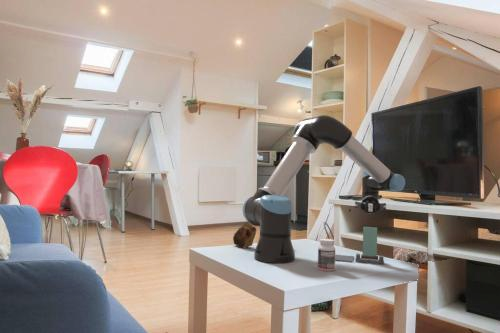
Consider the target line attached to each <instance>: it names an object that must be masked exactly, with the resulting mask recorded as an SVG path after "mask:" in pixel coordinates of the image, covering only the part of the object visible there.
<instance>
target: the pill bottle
mask: <svg viewBox="0 0 500 333" xmlns="http://www.w3.org/2000/svg"><path fill="white" fill-rule="evenodd" d="M319 244H320V245H319V246H318V249H317V252H318V253H317V268H318V269H319V270H321V271H324V272H325V271H326V272H332V271H335V269H336V261H335V255H336V247H335V246H334V244H335V240H334V239H332V238H320V239H319Z"/></svg>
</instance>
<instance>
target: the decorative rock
mask: <svg viewBox="0 0 500 333" xmlns="http://www.w3.org/2000/svg"><path fill="white" fill-rule="evenodd" d="M256 234H257V228H256V226H254V225H252V224H251V223H249V222H248V221H247V222H245V223H244V224H243V225H242V226H240V227H239V228H238V229H237V230H236V231H235V233H234V234H233V237H232V240H233V244H234V245H235V246H238V247H240V248H249V247H251V246H253V244H254V243H253V242H254V239H255V238H256Z"/></svg>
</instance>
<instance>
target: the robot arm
mask: <svg viewBox="0 0 500 333" xmlns="http://www.w3.org/2000/svg"><path fill="white" fill-rule="evenodd" d="M291 141H292V143H291V145H290V147H289V148H288V150H287V151H286V152H285V154H284V156H283V157H282V158H281V160H280V161H279V164H277V166H276V168H275V169H274V171H273V172H272V174H271V175H270V177H269V179H268V180H267V181H266V183H265V184H264V186H263V187H259V188H258V189H257V190H256V191H255V192H254V194H253V196H250V197H248V198H246V199H245V201H244V202H243V205H242V215H243V217H244V220H245V221H247V222H249V223H250V224H251V225H252V226H254V227H259V238H258V242H257V245H256V247H255V250H254V256H253V257H254V259H255V260H256V261H259V262H265V263H270V264H271V263H272V264H273V263H274V264H284V263H287V264H288V263H293V262H294V261H295V260H296V254H295V250H294V246H293V243H292V238H291V235H292V234H291V233H292V210H293V207H292V206H293V205H292V200H291V199H289V197H286V196H284V195H285V193H286V191H287V190H288V188H289V187H290V186H291V183H292V182H293V180H294V179H295V177H296V176H297V174H298V173H299V171H300V170H301V168H302V166H303V165H304V164H305V161H306V160H307V159H308V157H309V156H310V154H314V153H316V152H317V149H319V146H320V145H321V144H327V145H330V146H332V147H333V148H334V149H335V150H340V151H341V152H342V153H343V154H345V155H346V156H347V157H348V158H349V159H350V160H351V161H352V162H354V163H355V164H356V165H357V166H358V167H359V168H361V169H362V170H363V171H362V176H361V180H362V181H361V182H362V184H361V188H362V189H361V201H355V202H354V208H356V209H360V210H362V211H363V212H364V213H367V214H369V215H371V214H375V213H377V212H379V211H383V210H385V211H386V210H387V203H386V202H384V203H381V202H380V201H379V196H380V195H379V194H380V193H379V192H380V191H383V192H392V193H394V192H401V191H403V190H404V188H405V186H406V179H405V176H403V175H402V174H399V173H394V172H393V171H392V170H390V168H388V167H387V166H386V165H384V164H385V163H383V162H381V161H380V160H379V159H378V157H376V156H375V155H374V154H373V153H372V152H371V151H370V150H368V148H366V146H364V145H363V144H362V142H360V141H359V140H358V139H357V138H355V136H353V131H352V130H351V129H350V128H348V126H347V125H345V124H344V123H343V122H341V121H340V120H338V119H336V118H335V117H334V116H333V117H332V116H330V115H317V116H314V117H310V118H305V119H303V120H300V121H299V122H297V124H295V126H294V128H293V136H292V137H291Z"/></svg>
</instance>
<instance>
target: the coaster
mask: <svg viewBox="0 0 500 333" xmlns="http://www.w3.org/2000/svg"><path fill="white" fill-rule="evenodd" d="M353 261H354V256H353V255H345V254H335V262H345V263H353Z"/></svg>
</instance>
